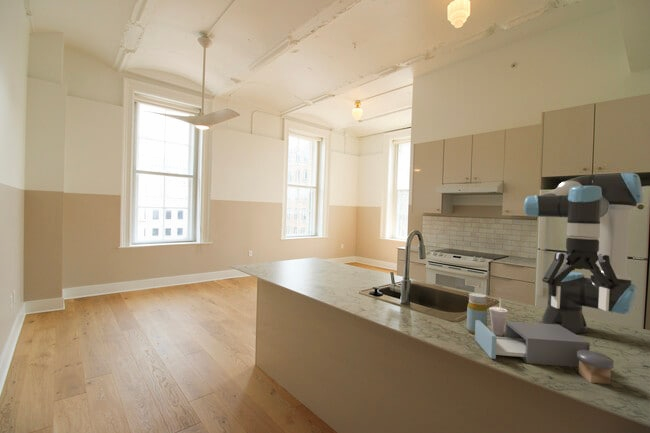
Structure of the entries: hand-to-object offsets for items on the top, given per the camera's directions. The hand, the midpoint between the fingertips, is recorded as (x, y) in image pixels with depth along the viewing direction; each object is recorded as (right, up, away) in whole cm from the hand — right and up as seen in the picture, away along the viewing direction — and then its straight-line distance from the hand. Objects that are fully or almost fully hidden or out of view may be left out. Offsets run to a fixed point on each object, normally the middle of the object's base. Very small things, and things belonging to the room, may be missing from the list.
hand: (579, 308), depth 91 cm
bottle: (-16, -19, +30) cm, 39 cm away
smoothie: (-8, -19, +29) cm, 36 cm away
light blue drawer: (-13, -19, +14) cm, 26 cm away
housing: (-2, -19, +12) cm, 23 cm away
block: (+2, -20, -2) cm, 20 cm away
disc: (+2, -15, -2) cm, 15 cm away
